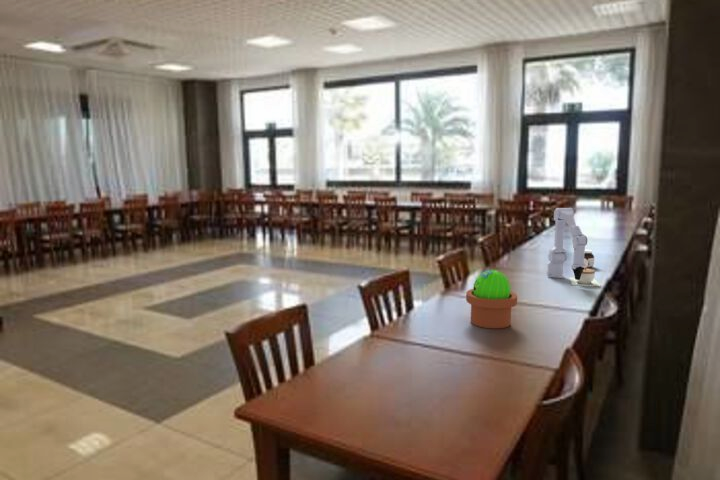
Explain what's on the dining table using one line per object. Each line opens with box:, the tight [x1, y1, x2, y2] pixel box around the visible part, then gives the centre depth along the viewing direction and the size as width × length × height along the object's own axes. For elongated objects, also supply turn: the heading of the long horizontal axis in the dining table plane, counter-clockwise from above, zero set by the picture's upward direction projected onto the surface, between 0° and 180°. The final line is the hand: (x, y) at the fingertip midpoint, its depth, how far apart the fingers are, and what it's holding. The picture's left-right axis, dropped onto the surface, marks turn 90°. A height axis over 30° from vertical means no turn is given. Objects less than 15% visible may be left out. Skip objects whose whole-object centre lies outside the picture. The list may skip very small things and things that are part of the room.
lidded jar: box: [578, 267, 596, 284], centre depth 313 cm, size 11×11×9 cm
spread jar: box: [582, 249, 595, 269], centre depth 358 cm, size 12×11×12 cm
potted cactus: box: [465, 268, 518, 330], centre depth 237 cm, size 22×22×25 cm
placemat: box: [568, 277, 602, 287], centre depth 317 cm, size 15×19×1 cm
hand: (577, 279), depth 305 cm, fingers closed
